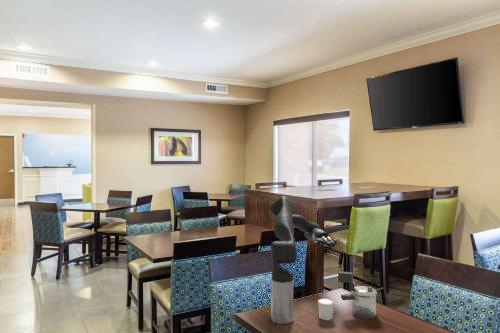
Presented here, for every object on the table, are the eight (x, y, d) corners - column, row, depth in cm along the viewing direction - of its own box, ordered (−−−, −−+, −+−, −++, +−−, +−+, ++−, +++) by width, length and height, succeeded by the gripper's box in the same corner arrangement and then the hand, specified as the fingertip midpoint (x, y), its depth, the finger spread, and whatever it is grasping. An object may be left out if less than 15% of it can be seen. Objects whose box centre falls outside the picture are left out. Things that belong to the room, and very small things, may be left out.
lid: (337, 293, 159) (337, 275, 159) (339, 285, 169) (339, 268, 169) (376, 298, 154) (376, 279, 154) (376, 289, 164) (376, 272, 164)
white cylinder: (334, 321, 153) (334, 304, 153) (317, 320, 154) (317, 303, 154) (333, 314, 160) (333, 298, 159) (317, 313, 161) (317, 297, 161)
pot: (346, 319, 155) (346, 298, 155) (338, 309, 165) (338, 289, 165) (380, 317, 156) (380, 296, 156) (369, 308, 166) (369, 288, 166)
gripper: (308, 230, 195) (318, 237, 177) (333, 230, 196) (345, 237, 179) (308, 244, 195) (318, 253, 178) (333, 244, 196) (345, 252, 179)
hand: (332, 245), depth 178 cm, fingers closed
